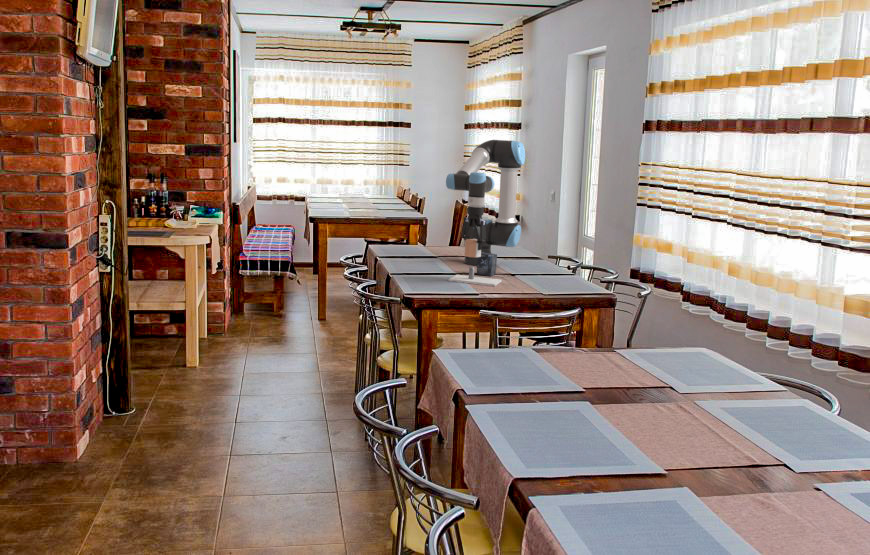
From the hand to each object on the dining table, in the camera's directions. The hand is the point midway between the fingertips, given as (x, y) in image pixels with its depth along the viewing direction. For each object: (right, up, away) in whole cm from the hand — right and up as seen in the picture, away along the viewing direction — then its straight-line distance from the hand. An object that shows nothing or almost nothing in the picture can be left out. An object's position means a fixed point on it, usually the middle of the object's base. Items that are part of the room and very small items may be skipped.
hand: (472, 255), depth 392 cm
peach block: (0, 0, 0) cm, 0 cm away
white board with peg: (+1, -12, +2) cm, 12 cm away
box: (+7, -9, +21) cm, 24 cm away
